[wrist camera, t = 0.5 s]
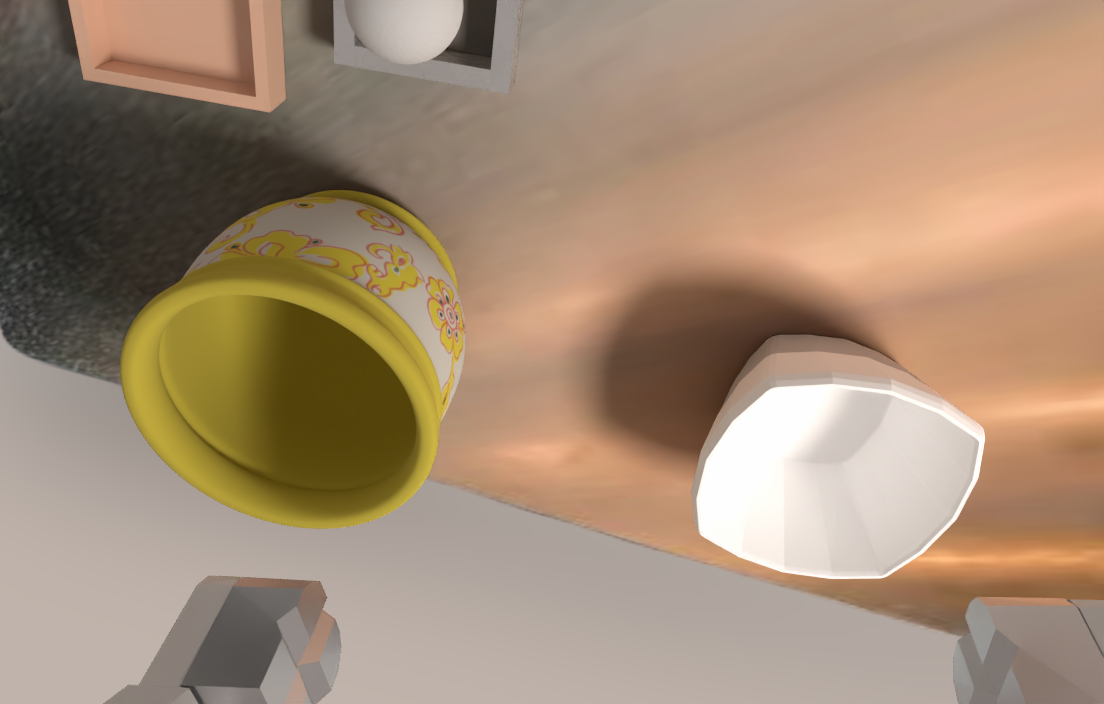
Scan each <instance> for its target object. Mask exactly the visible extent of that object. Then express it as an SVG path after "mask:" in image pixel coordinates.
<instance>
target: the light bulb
mask: <svg viewBox="0 0 1104 704" xmlns="http://www.w3.org/2000/svg"><path fill="white" fill-rule="evenodd" d="M344 4H345V11H346V14H347V18H348V21H349V23H350V26H351V28H352V29H353V31H354V33H355V35H356V36H357V37H358V39H359V40H360V41H361V43H362V44H363V45H364V46H365V47H366V48H367V49H369V50H370V51H371V52H372V53H374V54H375V55H377V56H379V57H380V58H382V59H385V60H387V61H390V62H393V63H398V64H409V65H410V64H418V63H422V62H425V61H428V60H430V59H432V58H434V57H436V56H438V55H439V54H440V53H442V52H443V51H444V50H445V49H446V48H447V47H448V46H449V45H450V44H451V42H452V41H453V39H454V38H455V36H456V34H457V32H458V30H459V28H460V24H461V20H462V16H463V0H344Z"/></svg>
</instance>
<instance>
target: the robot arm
mask: <svg viewBox="0 0 1104 704" xmlns="http://www.w3.org/2000/svg"><path fill="white" fill-rule="evenodd" d="M326 599H327V596H326V594H325V592H324V589H323V587H322V585H321V583H320V581H306V580H288V579H287V580H286V579H268V578H250V577H228V576H208V577H206V578H205V579H204V580H203V581H202V582H200V583H199V584H198V585H197V586H196V588H195V590H194V591H193V593H192V595H191V597H190V598H189V600H188V602H187V603H186V605H185V607H184V608H183V610H182V612H181V614H180V615H179V617H178V619H177V620H176V622H175V624H174V626H173V627H172V629H171V631H170V632H169V634H168V636H167V638H166V640H165V641H164V643H163V644H162V646H161V648H160V650H159V651H158V653H157V655H156V656H155V658H154V660H153V662H152V663H151V665H150V667H149V669H148V670H147V672H146V674H145V675H144V677H143V679H142V681H141V682H140V684H139V685H127V686H126V687H125V688H124V689H122V690H121V691H120V692H118V693H117V694H116V695H114V696H113V697H112V698H110V699H109V700H108V701H106V702H105V703H104V704H317V703H318V702H319V701H320V700H321V699H322V698H323V697H325V696H326V695H327V694H328V693H329V692H330V691H331V690H332V687H333V684H334V681H335V678H336V675H337V672H338V668H339V660H340V653H341V640H340V631H339V628H338V625H337V622H336V620H335V618H333V617H332V616H331V615H329V614H328V613H327V612H325V611H324V610H323V606H324V604H325V602H326ZM965 618H966V620H967V623H968V626H969V629H970V632H969V633H968V634H966V635H965V636H963V637H962V638H960V639H959V640H958V641H957V645H956V649H955V653H954V657H953V674H954V676H953V677H954V685H955V690H956V695H957V700H958V703H959V704H1104V600H1065V599H1063V598H1006V597H976V598H975V599H974V600H972V601H971V602H970V604H969V607H968V610H967V612H966V615H965Z"/></svg>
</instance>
